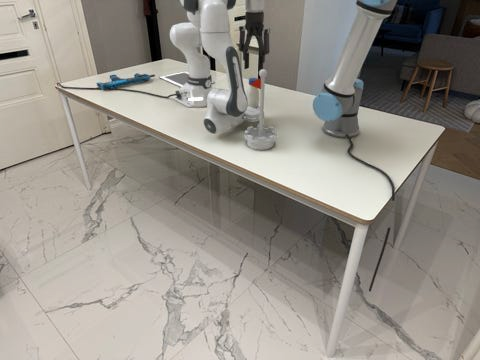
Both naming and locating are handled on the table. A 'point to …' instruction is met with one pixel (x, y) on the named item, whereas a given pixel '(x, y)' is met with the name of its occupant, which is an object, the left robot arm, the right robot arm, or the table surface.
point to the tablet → (177, 78)
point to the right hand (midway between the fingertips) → (253, 69)
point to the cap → (252, 80)
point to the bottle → (253, 97)
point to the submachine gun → (124, 81)
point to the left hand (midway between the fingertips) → (253, 106)
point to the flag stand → (260, 122)
